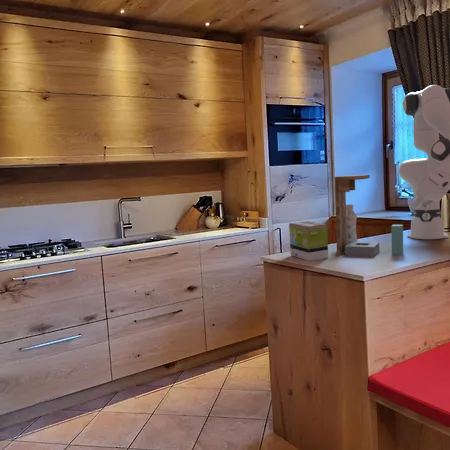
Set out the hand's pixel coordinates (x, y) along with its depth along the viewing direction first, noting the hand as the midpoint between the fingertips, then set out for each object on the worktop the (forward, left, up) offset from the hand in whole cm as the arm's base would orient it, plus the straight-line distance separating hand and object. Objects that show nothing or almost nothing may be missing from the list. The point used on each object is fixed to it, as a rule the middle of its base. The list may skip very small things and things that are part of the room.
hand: (419, 206), depth 183 cm
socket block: (0, -23, -20) cm, 30 cm away
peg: (-2, -9, -20) cm, 22 cm away
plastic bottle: (-12, -31, -20) cm, 39 cm away
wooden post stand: (0, -26, -20) cm, 33 cm away
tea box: (+12, -43, -20) cm, 49 cm away
